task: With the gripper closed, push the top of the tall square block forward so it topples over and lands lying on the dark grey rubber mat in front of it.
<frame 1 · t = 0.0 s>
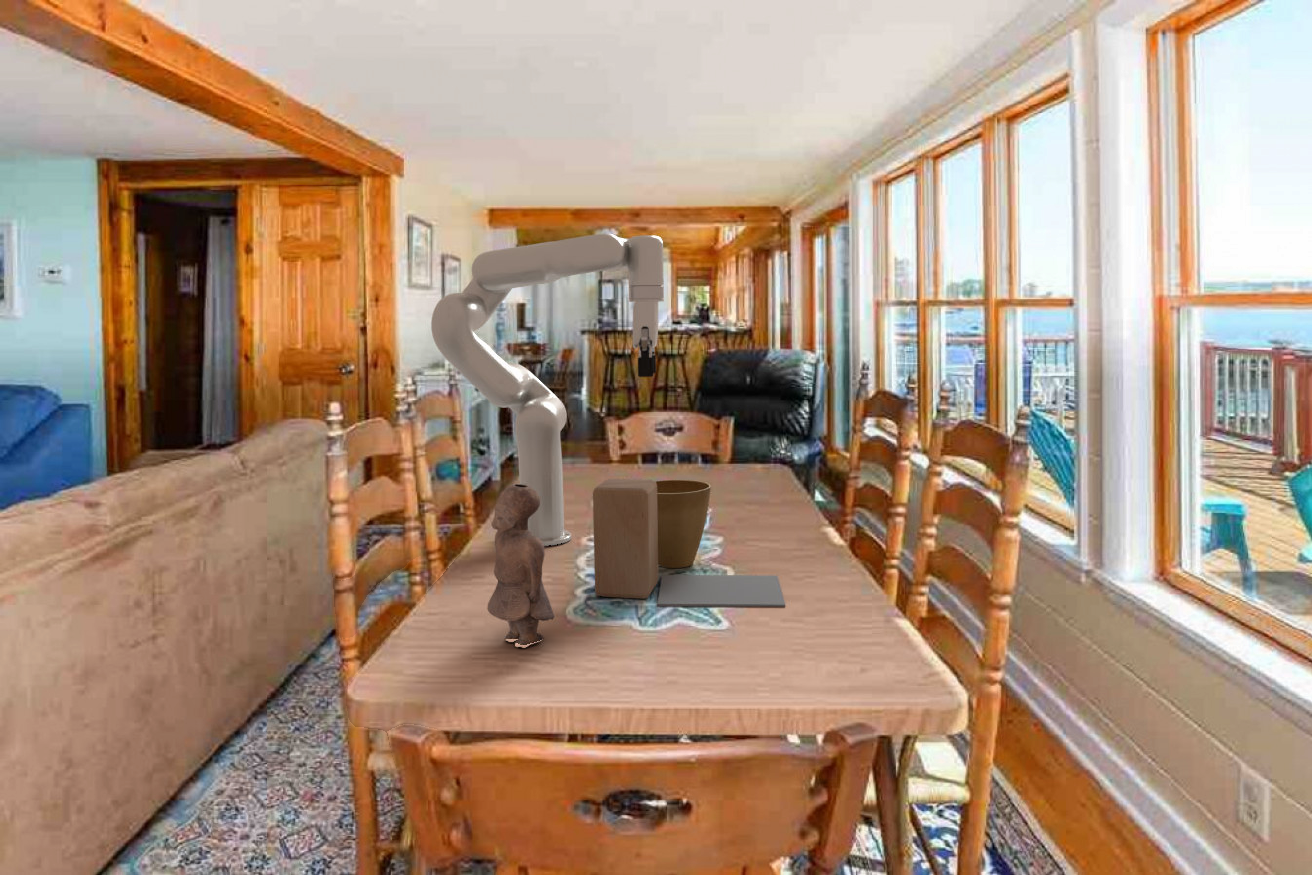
hand: (647, 374, 195), 37 cm above the table, tool pointing down, fingers open, 9 cm apart
mat: (720, 591, 164), on the table
clay figurine: (523, 643, 140), on the table
block: (627, 591, 165), on the table
plant pot: (674, 564, 182), on the table
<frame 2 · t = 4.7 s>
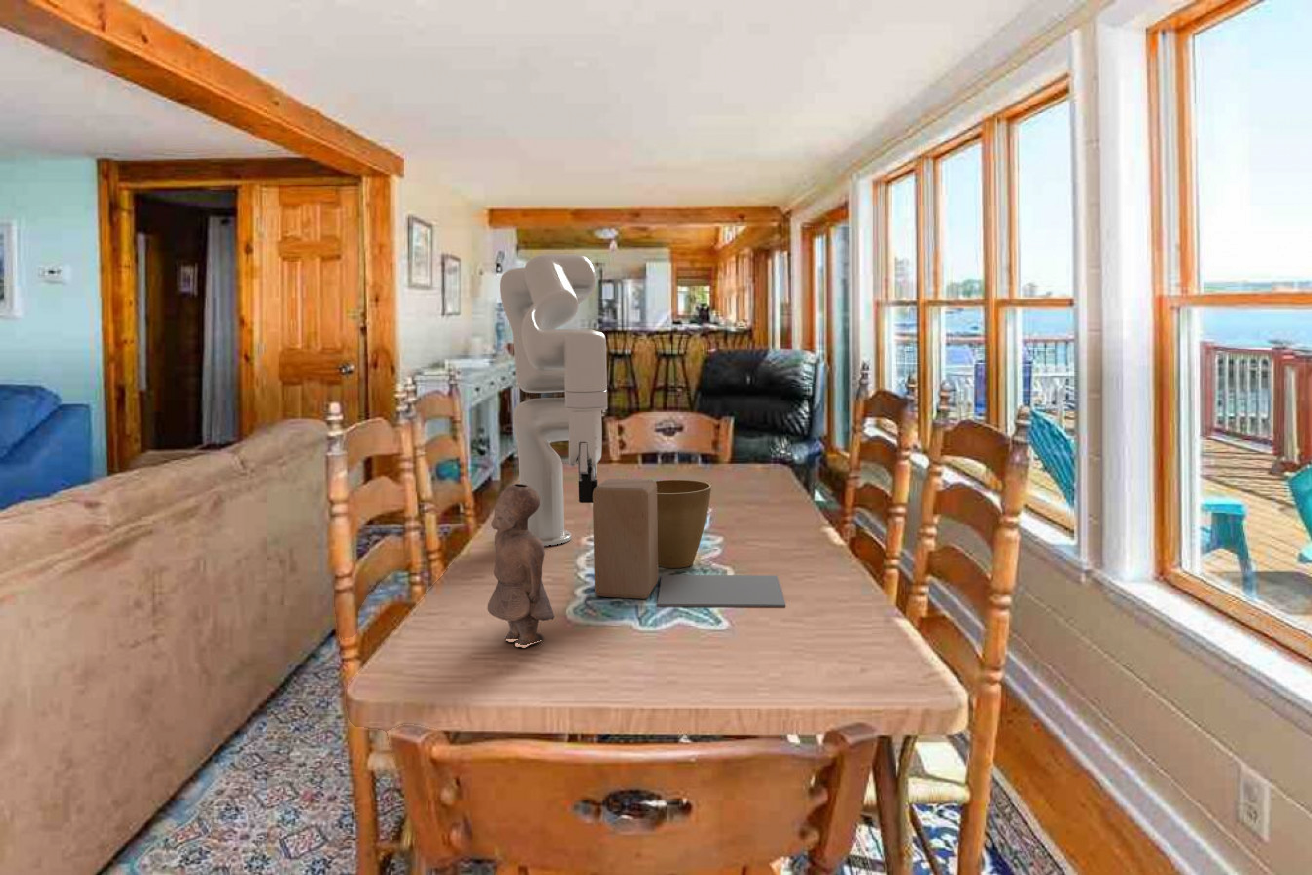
hand: (588, 501, 163), 17 cm above the table, tool pointing down, fingers closed
block: (627, 591, 165), on the table, touching gripper
everything else where it was.
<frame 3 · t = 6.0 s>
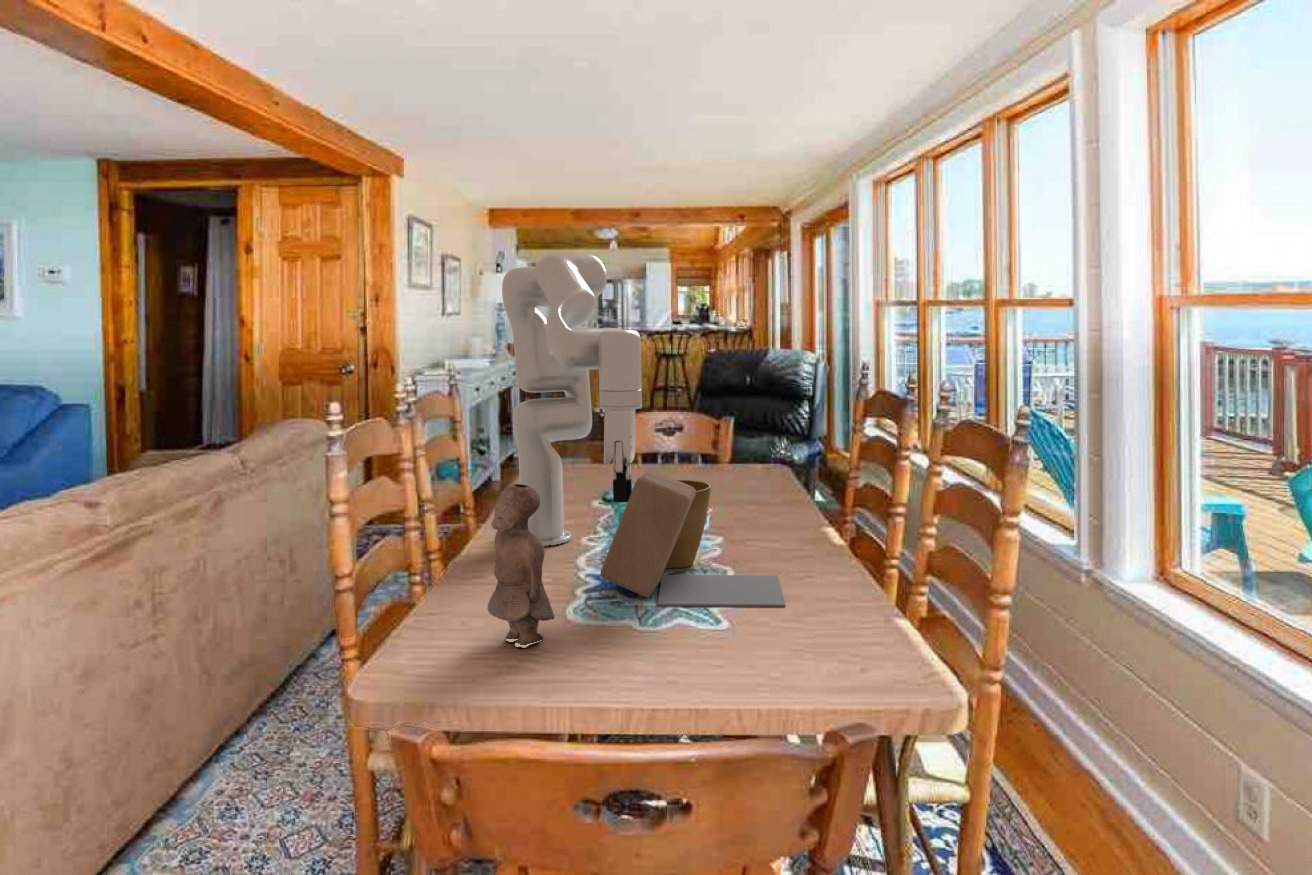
hand: (622, 500, 163), 17 cm above the table, tool pointing down, fingers closed
block: (628, 581, 165), point 2 cm above the table
everything else where it was.
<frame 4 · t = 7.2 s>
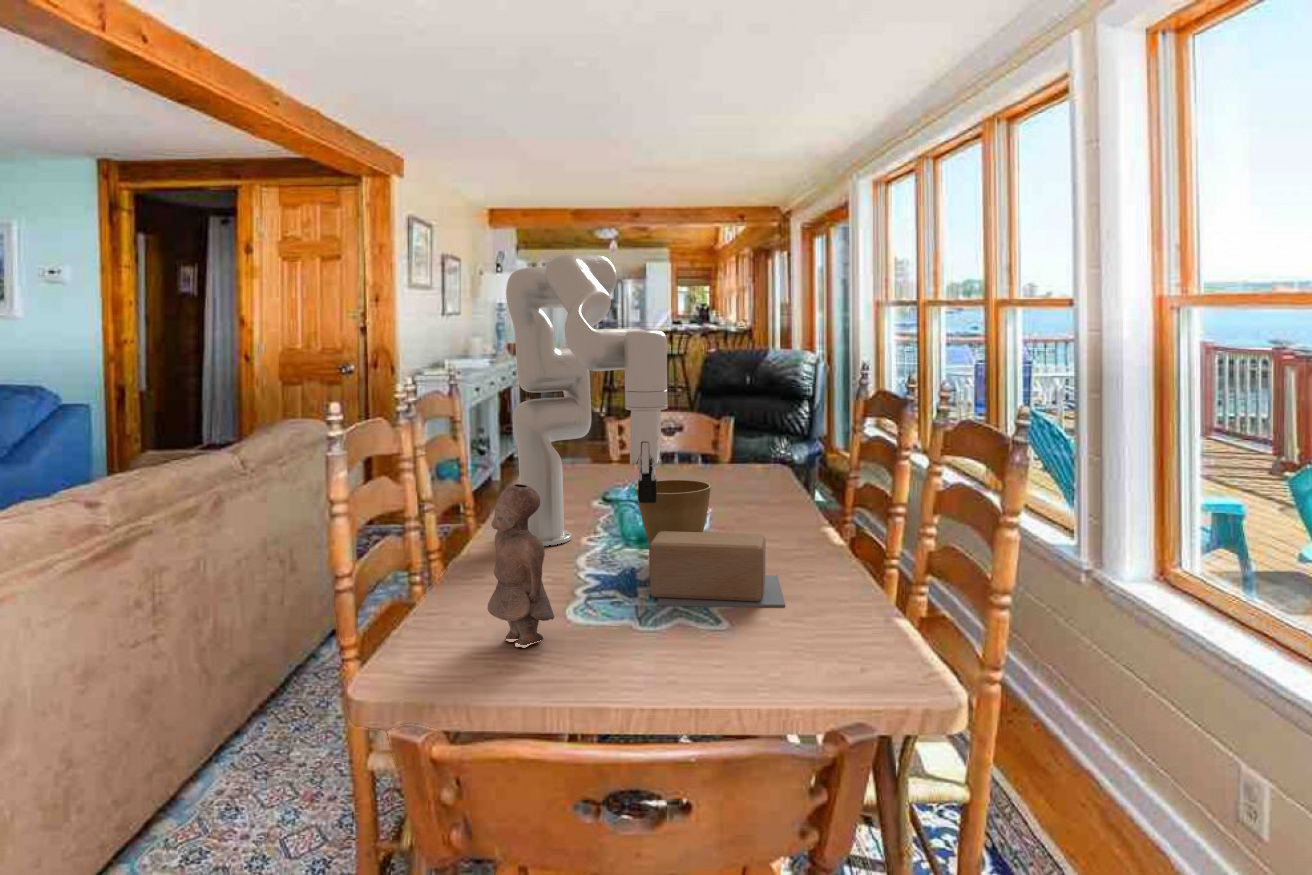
hand: (647, 501, 162), 17 cm above the table, tool pointing down, fingers closed
block: (652, 563, 163), point 5 cm above the table, touching mat
everything else where it was.
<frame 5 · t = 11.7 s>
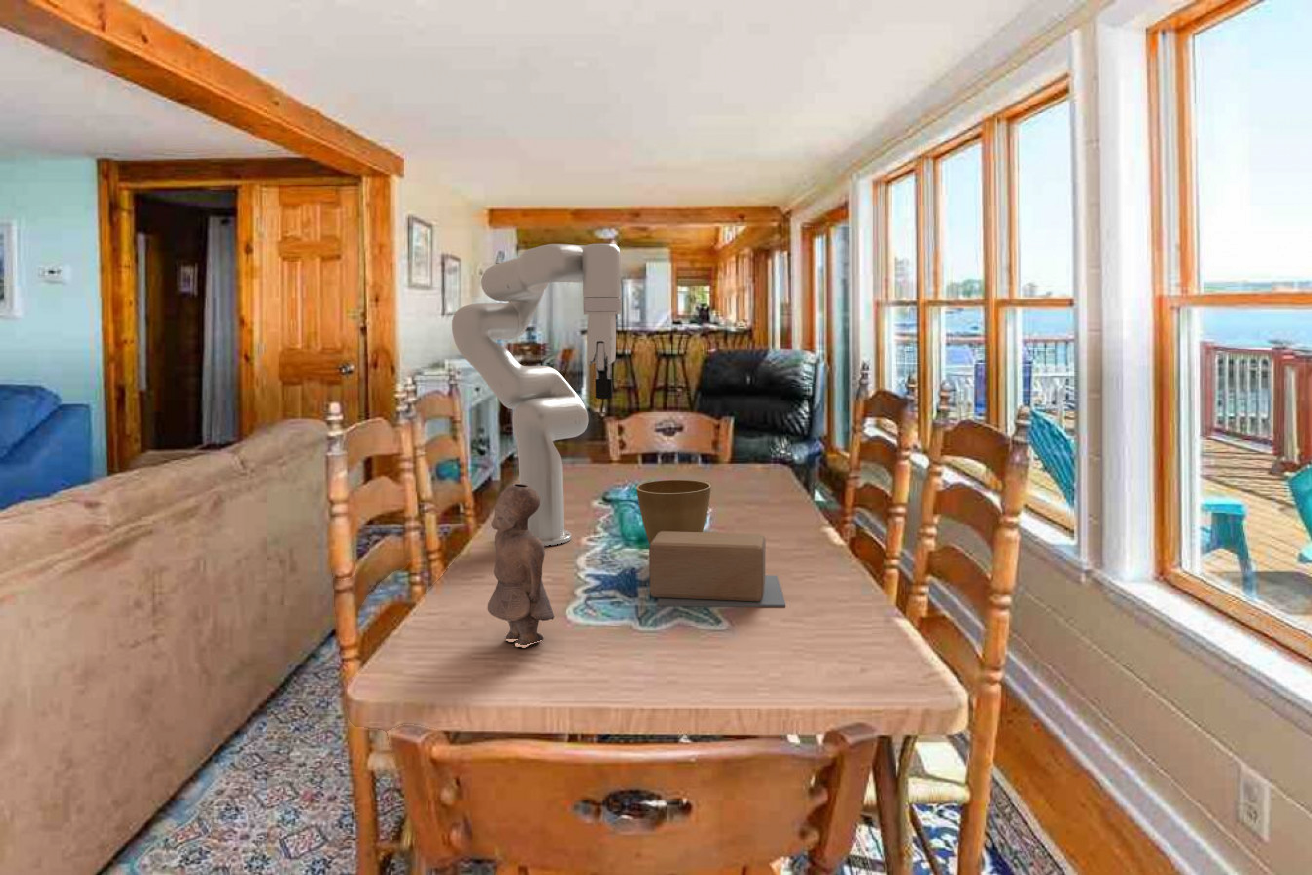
hand: (604, 398, 182), 33 cm above the table, tool pointing down, fingers closed
nothing on the table moved.
at the end: block tilted 90°; block inside the target area (13.3 cm from its centre), point 5.4 cm above the table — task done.
